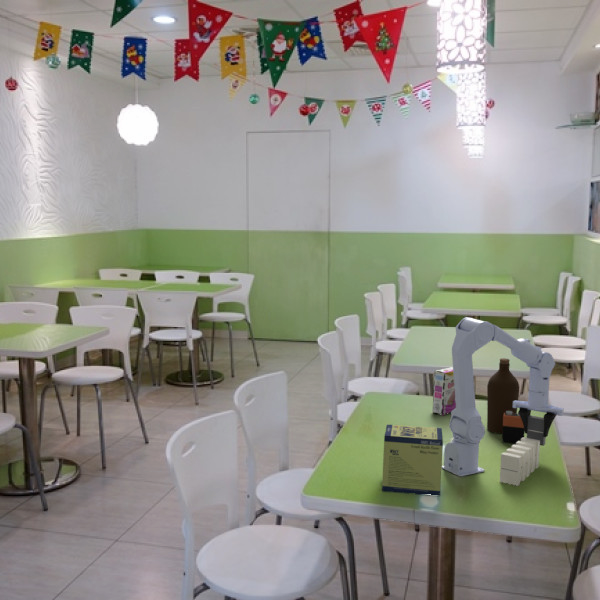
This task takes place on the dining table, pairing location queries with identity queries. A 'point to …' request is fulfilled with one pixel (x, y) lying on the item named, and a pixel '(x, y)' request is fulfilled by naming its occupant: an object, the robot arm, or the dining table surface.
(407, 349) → the dining table surface
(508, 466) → the domino
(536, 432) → the domino
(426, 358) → the dining table surface
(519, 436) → the battery
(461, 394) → the robot arm
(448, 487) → the dining table surface
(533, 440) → the domino
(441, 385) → the candy bar box
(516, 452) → the domino
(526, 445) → the domino
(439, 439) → the protein box
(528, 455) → the domino
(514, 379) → the olive oil
